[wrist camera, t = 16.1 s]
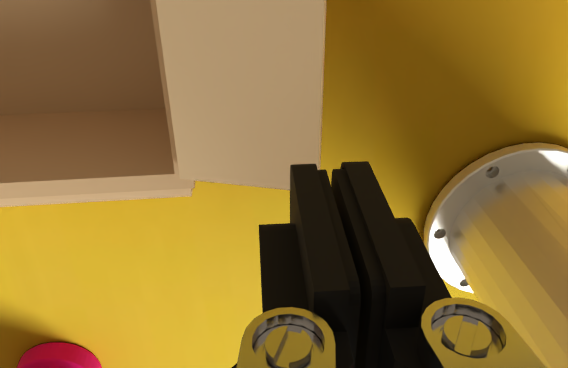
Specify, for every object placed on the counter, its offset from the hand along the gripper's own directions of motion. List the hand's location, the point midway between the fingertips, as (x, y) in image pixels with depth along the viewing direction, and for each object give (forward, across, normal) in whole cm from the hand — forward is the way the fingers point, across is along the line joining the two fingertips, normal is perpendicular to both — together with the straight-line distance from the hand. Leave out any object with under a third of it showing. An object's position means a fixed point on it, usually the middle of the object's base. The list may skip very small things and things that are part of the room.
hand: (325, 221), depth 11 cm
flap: (+10, +5, -1) cm, 11 cm away
